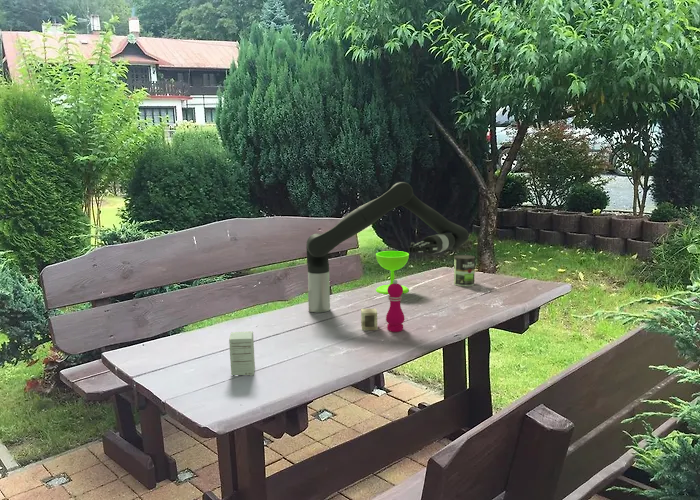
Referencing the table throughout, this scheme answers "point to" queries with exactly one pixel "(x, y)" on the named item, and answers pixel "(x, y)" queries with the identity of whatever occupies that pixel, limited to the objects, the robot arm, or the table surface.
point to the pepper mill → (395, 308)
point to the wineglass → (391, 266)
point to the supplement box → (242, 353)
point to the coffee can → (464, 270)
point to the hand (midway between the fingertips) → (410, 250)
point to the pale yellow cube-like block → (369, 319)
